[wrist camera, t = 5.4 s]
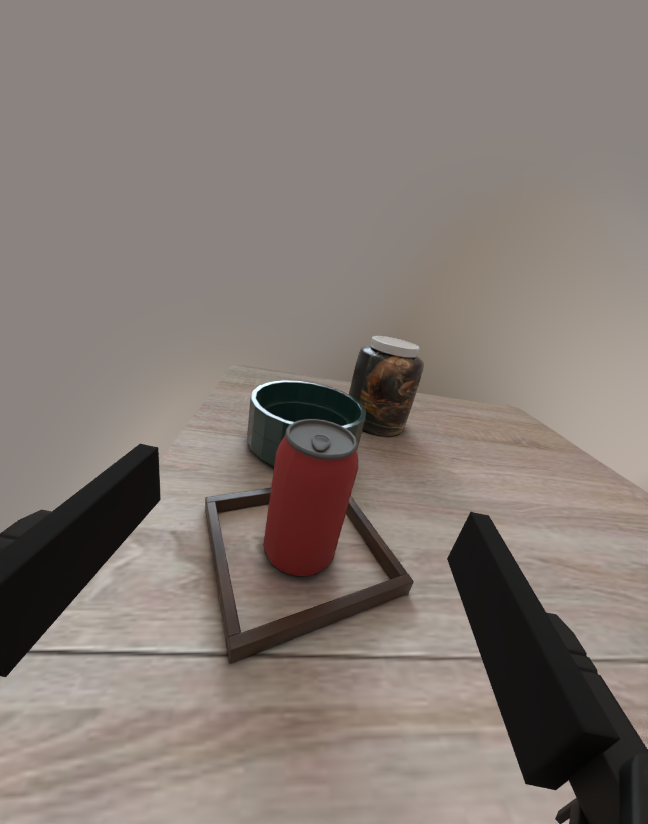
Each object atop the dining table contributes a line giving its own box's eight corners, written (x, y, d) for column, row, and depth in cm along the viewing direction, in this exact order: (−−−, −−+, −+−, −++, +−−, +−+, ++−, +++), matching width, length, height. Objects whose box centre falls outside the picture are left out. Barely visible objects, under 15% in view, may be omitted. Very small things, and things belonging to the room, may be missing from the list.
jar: (331, 410, 58) (347, 331, 52) (375, 405, 65) (394, 334, 58) (372, 441, 49) (397, 351, 43) (417, 431, 56) (445, 352, 50)
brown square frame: (408, 593, 26) (414, 581, 25) (229, 664, 19) (230, 650, 18) (335, 487, 37) (337, 477, 36) (205, 508, 30) (205, 497, 29)
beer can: (253, 571, 25) (269, 448, 20) (272, 515, 31) (288, 409, 26) (331, 588, 25) (366, 468, 20) (335, 528, 31) (363, 425, 26)
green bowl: (375, 470, 42) (388, 425, 39) (263, 486, 35) (270, 433, 32) (326, 417, 54) (334, 381, 52) (237, 421, 47) (240, 379, 44)
